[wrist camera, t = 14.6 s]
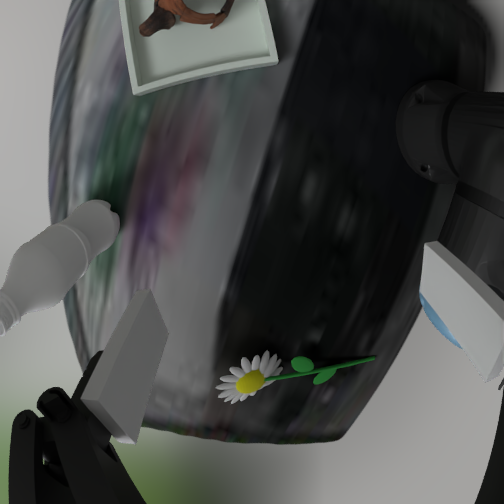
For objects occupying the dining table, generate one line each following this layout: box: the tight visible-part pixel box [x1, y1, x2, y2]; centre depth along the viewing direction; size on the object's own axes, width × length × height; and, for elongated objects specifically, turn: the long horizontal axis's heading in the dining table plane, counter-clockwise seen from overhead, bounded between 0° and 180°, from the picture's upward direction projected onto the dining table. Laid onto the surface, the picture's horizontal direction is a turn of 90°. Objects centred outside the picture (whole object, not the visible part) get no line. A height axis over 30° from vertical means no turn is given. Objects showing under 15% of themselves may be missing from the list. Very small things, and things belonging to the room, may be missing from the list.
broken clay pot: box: [139, 0, 235, 37], centre depth 25 cm, size 12×9×8 cm
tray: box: [119, 0, 279, 96], centre depth 27 cm, size 18×18×2 cm
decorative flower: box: [216, 350, 375, 404], centre depth 50 cm, size 13×5×30 cm
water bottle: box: [0, 200, 120, 336], centre depth 28 cm, size 7×7×25 cm
